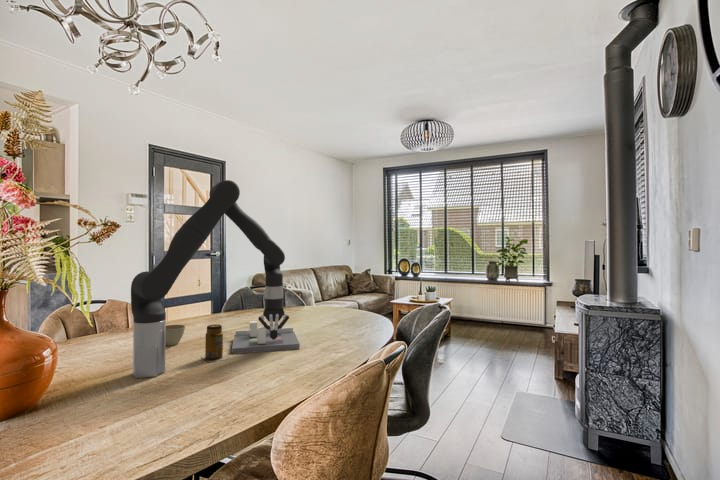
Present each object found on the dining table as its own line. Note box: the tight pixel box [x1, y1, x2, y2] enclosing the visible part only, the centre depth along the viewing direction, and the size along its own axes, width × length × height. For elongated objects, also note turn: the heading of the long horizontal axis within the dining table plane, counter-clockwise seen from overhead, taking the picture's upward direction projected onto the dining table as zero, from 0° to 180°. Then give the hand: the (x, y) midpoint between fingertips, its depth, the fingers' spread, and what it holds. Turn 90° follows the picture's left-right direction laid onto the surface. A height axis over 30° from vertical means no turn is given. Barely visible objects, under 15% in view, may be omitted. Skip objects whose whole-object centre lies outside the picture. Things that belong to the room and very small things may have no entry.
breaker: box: [249, 320, 258, 337], centre depth 163 cm, size 4×3×6 cm
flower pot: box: [165, 324, 186, 346], centre depth 157 cm, size 10×10×7 cm
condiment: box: [200, 323, 229, 363], centre depth 139 cm, size 7×8×12 cm
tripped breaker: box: [257, 325, 266, 344], centre depth 152 cm, size 4×3×6 cm
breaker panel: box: [231, 326, 301, 355], centre depth 158 cm, size 22×26×4 cm
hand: (273, 339), depth 153 cm, fingers closed
